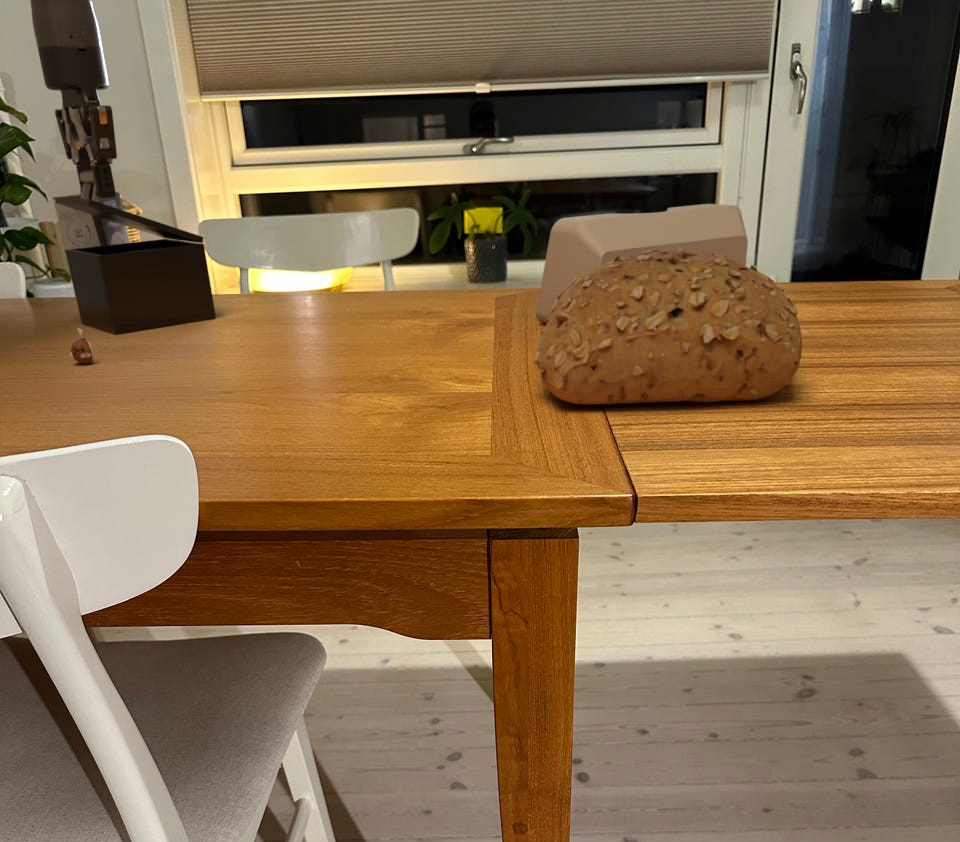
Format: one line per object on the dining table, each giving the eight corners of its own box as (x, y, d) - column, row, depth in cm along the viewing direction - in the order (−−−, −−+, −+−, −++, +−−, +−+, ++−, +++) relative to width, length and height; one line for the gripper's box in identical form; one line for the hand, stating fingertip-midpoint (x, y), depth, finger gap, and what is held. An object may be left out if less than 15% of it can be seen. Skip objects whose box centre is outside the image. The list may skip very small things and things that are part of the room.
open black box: (115, 334, 127) (98, 255, 122) (82, 323, 135) (64, 249, 131) (216, 318, 135) (203, 243, 130) (178, 309, 143) (165, 238, 139)
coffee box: (121, 315, 140) (95, 195, 133) (78, 317, 141) (50, 197, 133) (143, 304, 148) (120, 191, 141) (102, 306, 149) (77, 193, 141)
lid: (88, 206, 119) (94, 163, 118) (55, 203, 128) (60, 163, 127) (202, 243, 130) (209, 204, 129) (164, 238, 139) (170, 202, 137)
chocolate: (70, 363, 112) (61, 328, 110) (90, 360, 113) (81, 325, 111) (76, 367, 109) (67, 331, 107) (96, 364, 110) (88, 328, 109)
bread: (756, 354, 101) (767, 232, 95) (819, 407, 82) (838, 259, 77) (526, 364, 101) (524, 242, 96) (537, 418, 83) (535, 272, 77)
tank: (607, 344, 109) (610, 225, 103) (533, 323, 121) (532, 216, 115) (771, 316, 119) (783, 207, 113) (688, 300, 131) (694, 201, 125)
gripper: (20, 49, 120) (52, 197, 128) (58, 39, 110) (90, 200, 118) (79, 50, 124) (107, 194, 132) (121, 41, 115) (148, 196, 123)
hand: (99, 196), depth 125 cm, fingers closed on lid, 5 cm apart
